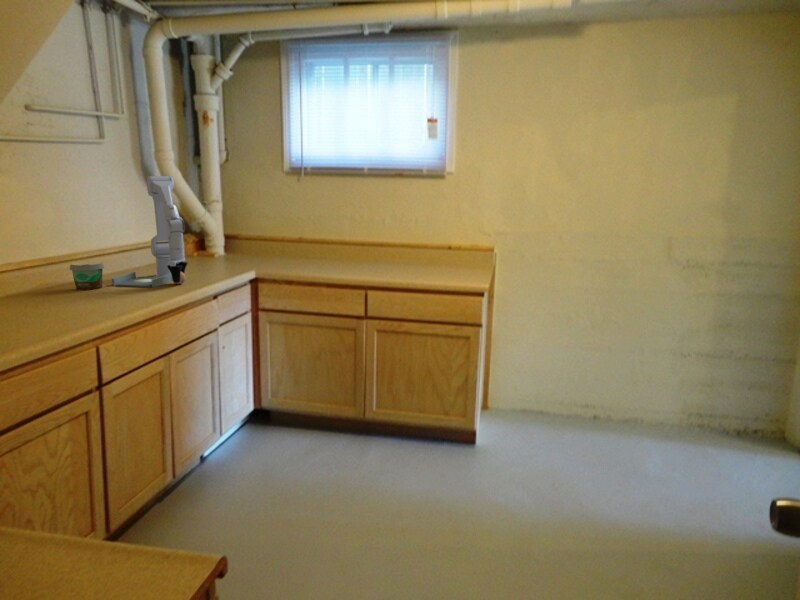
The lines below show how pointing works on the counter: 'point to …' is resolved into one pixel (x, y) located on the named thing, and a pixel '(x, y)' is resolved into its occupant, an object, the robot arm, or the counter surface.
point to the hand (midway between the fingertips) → (178, 280)
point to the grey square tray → (132, 275)
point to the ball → (182, 278)
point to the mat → (138, 282)
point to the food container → (87, 276)
